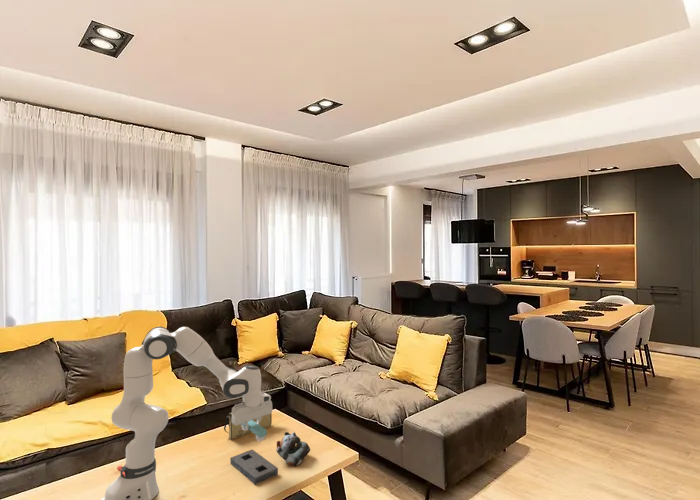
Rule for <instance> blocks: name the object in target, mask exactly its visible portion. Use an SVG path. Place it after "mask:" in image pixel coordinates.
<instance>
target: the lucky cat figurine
mask: <svg viewBox="0 0 700 500" xmlns="http://www.w3.org/2000/svg"><path fill="white" fill-rule="evenodd" d="M275 451H276V453H277V454H278V456H279V457H281V458H282V459H283V460H284V462H286V464H287V465H288V466H289V467H297V466H298V465H299V464H301V463H302V462H303V460H304V458H305V457H307V455H308V454H309V453H310V451H311V448H310V446H309V444H308V443H307V442H306V441H301V438H300V437H299V436H298V435H297V434H296V432H295V431H293V432H292V433H289V432H288V431H286V432H284V435H283V437H282V438H281V440H277V441H276V450H275Z"/></svg>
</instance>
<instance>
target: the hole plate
mask: <svg viewBox="0 0 700 500" xmlns="http://www.w3.org/2000/svg"><path fill="white" fill-rule="evenodd" d="M229 460H230V465H232V467H233V468H235V469H236V470H237V471H238V472H239V473H241V474H242V476H244V477H245V478H247V480H248V481H250V482H251V483H252V484H254V485H255V486H256V485H257V484H260V483H262V482H264V481H266V480H269V479H271V478H273V477H276V476H278V475H279V468H278V467H277V466H276V465H275V464H273V463H272V462H271V461H269V460H268V459H266V458H265V457H263V455H261V454H259V453H258V452H256V451H255V449H250V450H248V451H245V452H242V453H239V454H236V455H234V456H231V457H230V459H229Z"/></svg>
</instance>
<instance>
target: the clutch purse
mask: <svg viewBox="0 0 700 500" xmlns="http://www.w3.org/2000/svg"><path fill="white" fill-rule="evenodd" d="M271 402H272V400H271ZM273 404H274V403H273V402H272V405H273ZM272 412H273V411H272ZM272 412H271V414H268V415H265V416H262V419H261V421H260V423H259V425H260V426H262V427H263V428H265V429H266V428H269V427H271V426H272V419H273V418H272V416H273V415H272ZM257 419H258V418H256V419H253V421H254V422H257ZM224 422H225V423H224V426H223V429H224V432H226V433H227V434H228V437H229V440H230V441H231V440H233V439H236V438H239V437H241V436H245V435H248V434H250V433H252V432H251V431H250V430H246V431H244V430H242V429H241V424H239V425H234V424H233V423H232V412H229V413H228V415H227V416H226V420H225V421H224ZM227 425H228V431H227V429H226V428H227Z"/></svg>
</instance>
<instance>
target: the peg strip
mask: <svg viewBox="0 0 700 500" xmlns="http://www.w3.org/2000/svg"><path fill="white" fill-rule="evenodd" d="M247 425H249V426H250V431H251V433H252V434H254V435H255V441H258V443H259V442H261V441H264V440H265V439H266V438H265V437H266V436H267V435H268V434H267V433H268V430H267V429H266V428H263V427H262V426H260V425H259V424H257V423H256V422H254V421H253V420H251V421H248V424H247ZM241 429H242V430H244V431H246V426H245V424H244V423H242V424H241ZM265 441H266V440H265Z"/></svg>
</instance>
